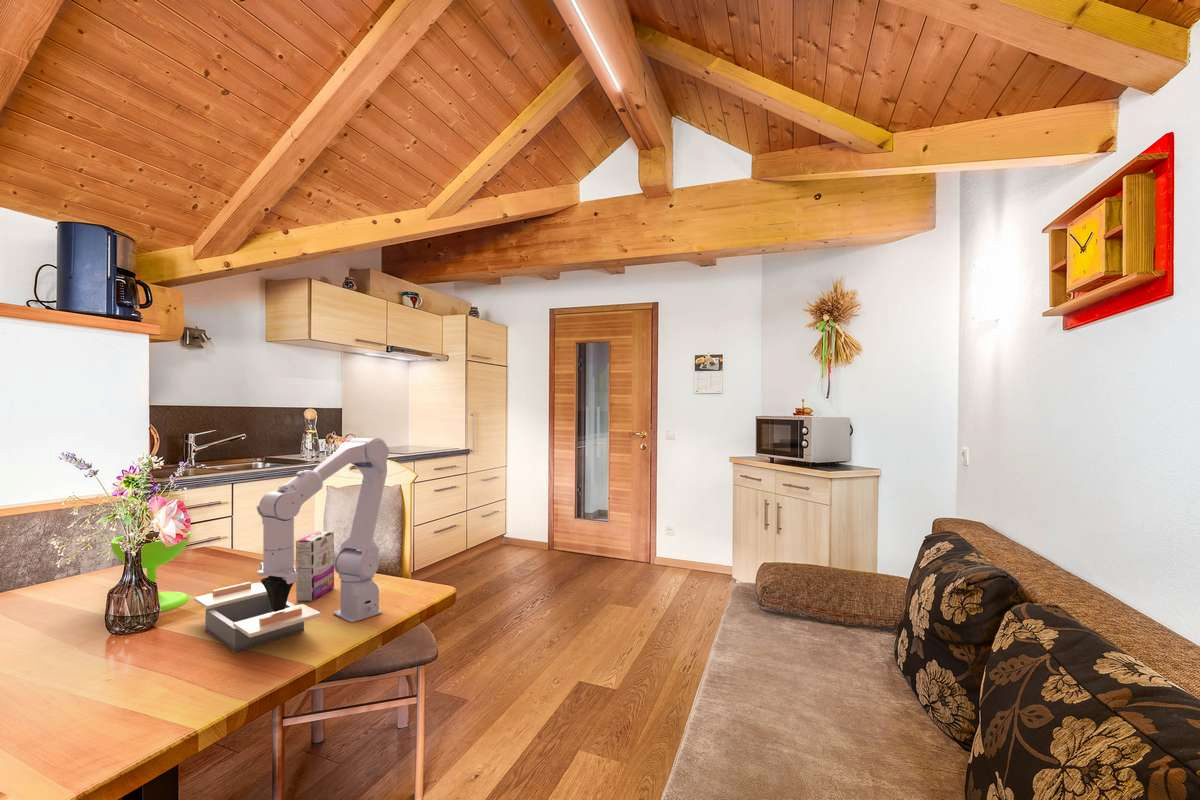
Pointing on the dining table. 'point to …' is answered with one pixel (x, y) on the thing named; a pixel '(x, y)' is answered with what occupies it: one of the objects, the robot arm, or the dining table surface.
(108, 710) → the dining table surface
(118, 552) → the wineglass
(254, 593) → the lid
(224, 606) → the box
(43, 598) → the dining table surface
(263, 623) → the lid
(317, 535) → the candy bar box
